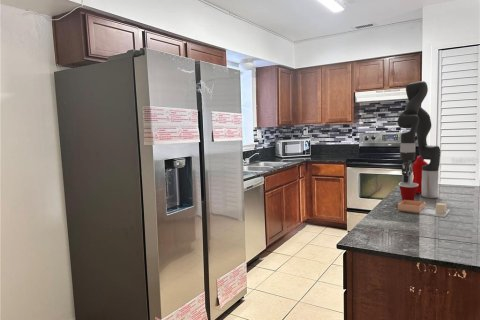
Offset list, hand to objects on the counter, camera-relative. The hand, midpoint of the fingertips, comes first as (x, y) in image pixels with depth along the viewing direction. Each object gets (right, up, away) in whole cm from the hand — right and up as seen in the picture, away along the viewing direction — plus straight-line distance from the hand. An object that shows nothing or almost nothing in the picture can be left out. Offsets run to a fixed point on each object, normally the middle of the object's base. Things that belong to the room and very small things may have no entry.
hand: (407, 181), depth 184 cm
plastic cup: (+8, -14, +15) cm, 22 cm away
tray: (+11, -16, -8) cm, 21 cm away
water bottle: (+30, -10, +43) cm, 53 cm away
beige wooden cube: (+13, -16, -10) cm, 23 cm away
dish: (+3, -16, 0) cm, 16 cm away
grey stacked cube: (0, -1, 0) cm, 1 cm away
